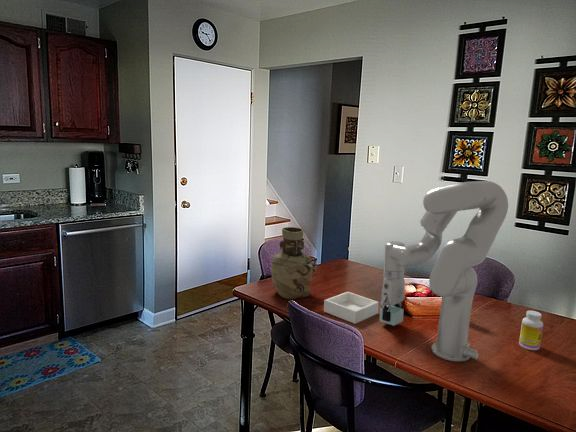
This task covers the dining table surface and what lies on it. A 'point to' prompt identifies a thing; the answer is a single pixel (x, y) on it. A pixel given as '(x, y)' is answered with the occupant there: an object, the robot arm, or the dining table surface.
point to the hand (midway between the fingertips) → (391, 317)
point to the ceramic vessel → (292, 266)
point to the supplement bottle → (531, 331)
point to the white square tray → (351, 307)
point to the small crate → (393, 315)
